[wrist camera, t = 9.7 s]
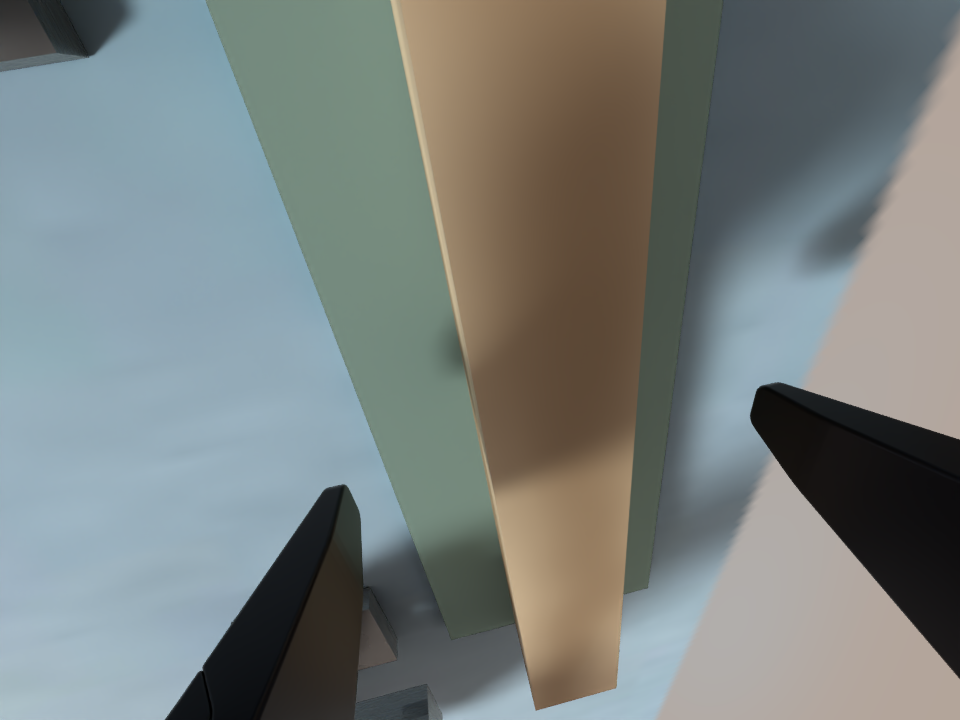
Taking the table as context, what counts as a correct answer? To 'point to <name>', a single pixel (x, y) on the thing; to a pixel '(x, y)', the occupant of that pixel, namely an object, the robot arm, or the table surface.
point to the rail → (546, 287)
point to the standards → (397, 716)
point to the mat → (420, 271)
